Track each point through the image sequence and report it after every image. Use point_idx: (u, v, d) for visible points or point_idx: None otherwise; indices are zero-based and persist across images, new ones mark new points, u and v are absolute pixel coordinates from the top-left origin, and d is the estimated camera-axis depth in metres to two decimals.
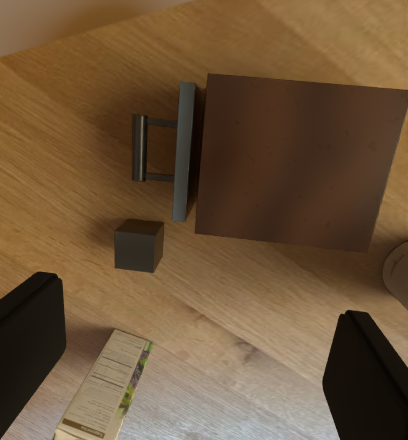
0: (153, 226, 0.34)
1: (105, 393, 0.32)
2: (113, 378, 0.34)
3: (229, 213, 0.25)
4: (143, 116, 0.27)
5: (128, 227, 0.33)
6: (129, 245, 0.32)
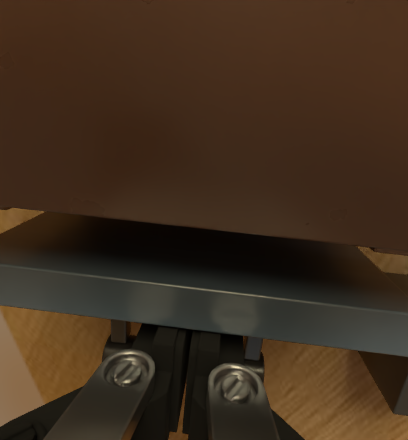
0: None
1: None
2: None
3: None
4: (105, 351, 0.11)
5: (381, 367, 0.14)
6: None
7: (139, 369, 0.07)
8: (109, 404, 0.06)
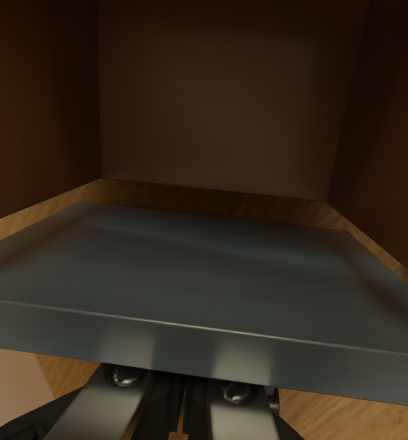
0: None
1: None
2: None
3: None
4: None
5: None
6: None
7: (139, 369, 0.07)
8: (109, 404, 0.06)
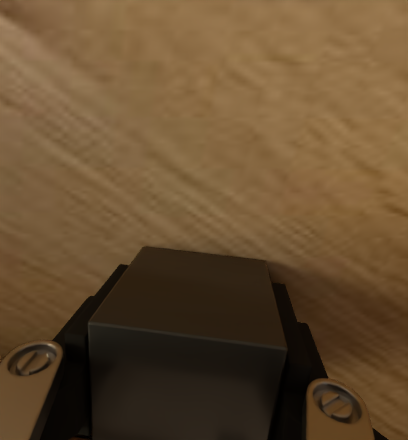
0: None
1: None
2: None
3: None
4: None
5: None
6: (199, 439, 0.07)
7: (46, 356, 0.07)
8: (19, 392, 0.06)
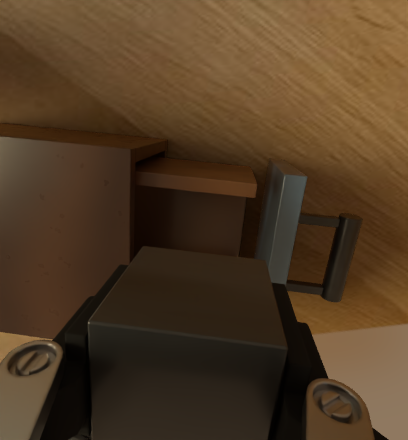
0: None
1: None
2: None
3: (79, 184, 0.16)
4: (326, 298, 0.21)
5: None
6: (199, 439, 0.07)
7: (46, 356, 0.07)
8: (19, 393, 0.06)
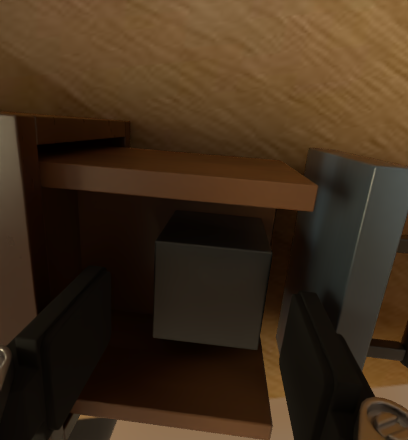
0: None
1: None
2: None
3: None
4: None
5: None
6: (220, 317, 0.12)
7: None
8: None
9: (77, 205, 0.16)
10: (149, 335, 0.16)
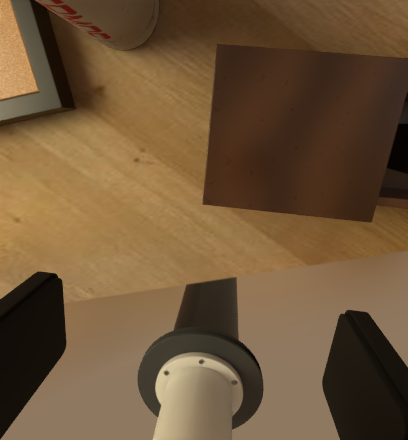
0: None
1: None
2: None
3: (369, 87, 0.23)
4: None
5: None
6: None
7: None
8: None
9: None
10: (382, 189, 0.30)
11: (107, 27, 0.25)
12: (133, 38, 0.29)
